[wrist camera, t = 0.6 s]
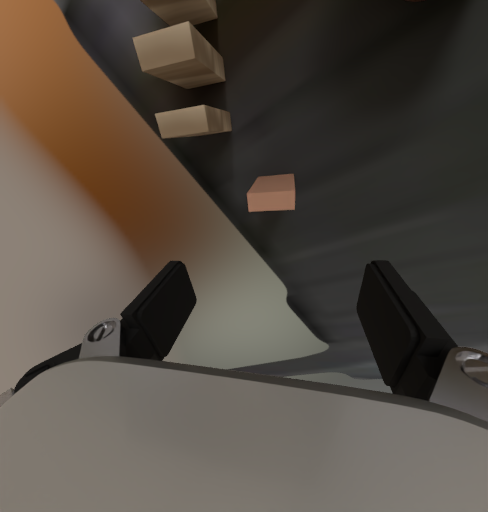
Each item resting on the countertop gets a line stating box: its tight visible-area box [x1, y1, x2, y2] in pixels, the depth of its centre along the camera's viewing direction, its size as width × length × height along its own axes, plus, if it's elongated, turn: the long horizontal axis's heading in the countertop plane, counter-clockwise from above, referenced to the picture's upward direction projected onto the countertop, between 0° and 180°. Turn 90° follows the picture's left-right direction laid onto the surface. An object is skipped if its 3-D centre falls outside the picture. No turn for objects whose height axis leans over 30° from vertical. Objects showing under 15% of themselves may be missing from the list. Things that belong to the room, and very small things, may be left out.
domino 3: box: [133, 21, 226, 89], centre depth 19 cm, size 2×5×9 cm, turn 97°
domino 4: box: [155, 105, 232, 138], centre depth 22 cm, size 2×5×9 cm, turn 97°
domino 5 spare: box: [247, 174, 295, 212], centre depth 24 cm, size 2×5×9 cm, turn 97°
